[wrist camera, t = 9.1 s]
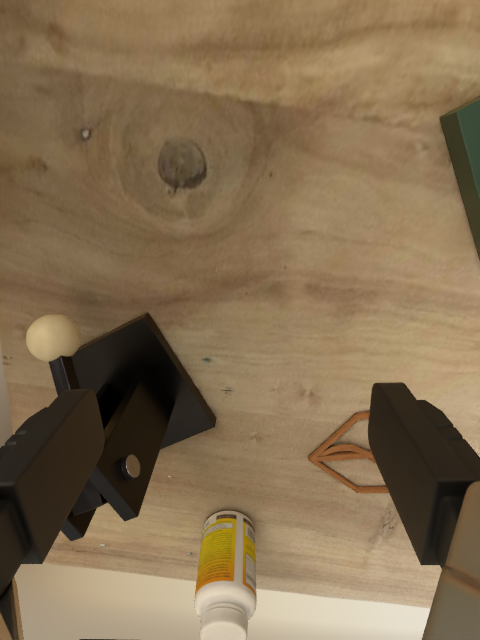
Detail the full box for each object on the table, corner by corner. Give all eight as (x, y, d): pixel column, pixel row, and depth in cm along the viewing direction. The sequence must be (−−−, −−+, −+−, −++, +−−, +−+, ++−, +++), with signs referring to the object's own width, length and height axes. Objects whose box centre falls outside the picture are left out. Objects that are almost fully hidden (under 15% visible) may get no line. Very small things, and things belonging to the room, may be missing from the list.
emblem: (437, 403, 33) (441, 407, 32) (430, 488, 37) (433, 493, 36) (304, 414, 34) (305, 419, 33) (310, 496, 37) (311, 502, 37)
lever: (47, 329, 28) (8, 323, 24) (83, 310, 27) (48, 302, 24) (96, 503, 25) (59, 523, 21) (137, 486, 24) (106, 504, 21)
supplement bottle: (194, 531, 40) (177, 643, 30) (220, 499, 38) (210, 607, 29) (238, 551, 41) (234, 664, 31) (264, 520, 39) (270, 631, 30)
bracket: (62, 355, 32) (-47, 459, 20) (148, 312, 31) (83, 398, 19) (137, 452, 36) (81, 587, 24) (216, 418, 34) (199, 547, 22)
